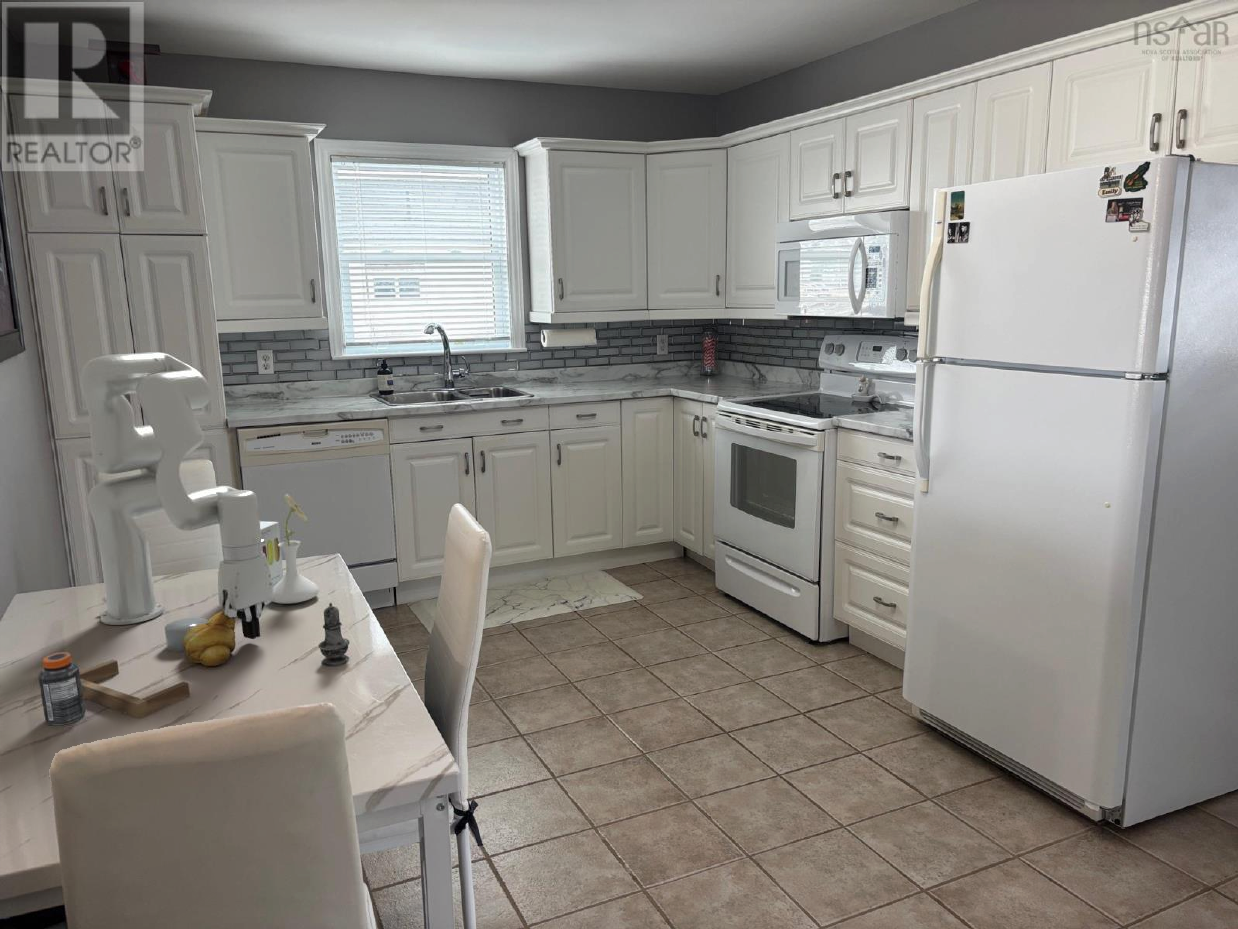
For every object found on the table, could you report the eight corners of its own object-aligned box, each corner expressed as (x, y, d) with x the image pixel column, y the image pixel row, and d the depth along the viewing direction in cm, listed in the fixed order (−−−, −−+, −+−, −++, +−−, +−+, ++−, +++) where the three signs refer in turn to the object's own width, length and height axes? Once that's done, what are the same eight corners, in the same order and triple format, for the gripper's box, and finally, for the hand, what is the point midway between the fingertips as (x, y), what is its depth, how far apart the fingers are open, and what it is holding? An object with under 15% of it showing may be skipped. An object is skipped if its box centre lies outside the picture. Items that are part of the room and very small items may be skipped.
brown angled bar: (63, 691, 164) (61, 678, 163) (114, 671, 172) (112, 659, 171) (139, 718, 152) (138, 704, 152) (190, 696, 161) (188, 683, 160)
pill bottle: (57, 711, 156) (47, 650, 153) (92, 709, 156) (83, 648, 154) (38, 727, 150) (28, 664, 148) (74, 725, 150) (65, 662, 148)
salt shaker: (357, 656, 177) (352, 599, 174) (338, 668, 171) (333, 609, 169) (332, 653, 179) (327, 596, 176) (313, 665, 173) (307, 606, 171)
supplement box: (263, 600, 211) (256, 531, 208) (228, 598, 213) (221, 529, 210) (285, 587, 220) (279, 521, 217) (252, 585, 222) (245, 519, 219)
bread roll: (237, 666, 173) (232, 627, 172) (181, 675, 170) (176, 635, 168) (238, 643, 185) (234, 606, 183) (186, 650, 181) (182, 613, 180)
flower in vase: (316, 605, 207) (307, 500, 202) (264, 610, 204) (254, 503, 200) (323, 588, 219) (314, 488, 214) (274, 592, 217) (264, 491, 212)
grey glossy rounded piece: (158, 648, 183) (156, 627, 182) (193, 635, 190) (191, 615, 189) (183, 655, 179) (180, 634, 179) (218, 641, 186) (215, 621, 185)
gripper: (260, 540, 189) (269, 622, 193) (198, 559, 177) (208, 646, 180) (285, 544, 186) (293, 627, 189) (223, 563, 173) (233, 652, 176)
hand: (252, 636), depth 185 cm, fingers closed
